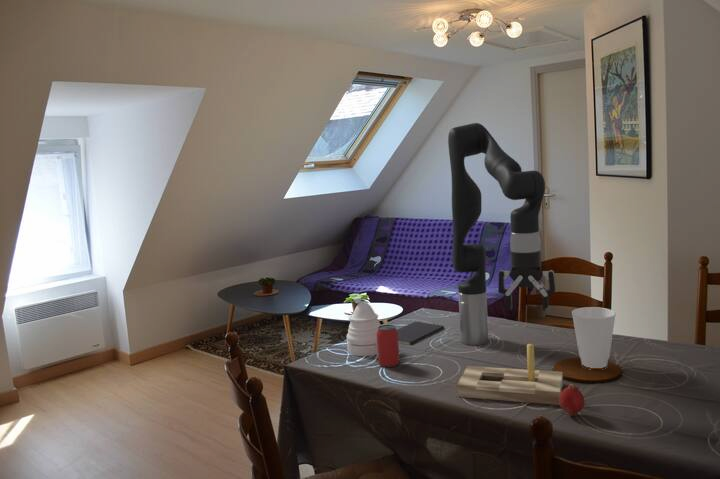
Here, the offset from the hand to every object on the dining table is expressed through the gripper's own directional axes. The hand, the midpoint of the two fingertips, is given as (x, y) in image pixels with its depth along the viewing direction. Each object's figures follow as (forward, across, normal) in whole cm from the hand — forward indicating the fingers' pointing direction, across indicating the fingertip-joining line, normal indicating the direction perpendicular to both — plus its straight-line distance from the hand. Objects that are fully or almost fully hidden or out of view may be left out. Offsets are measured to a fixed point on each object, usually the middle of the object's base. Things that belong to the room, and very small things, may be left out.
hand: (527, 309), depth 161 cm
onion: (+22, -11, +14) cm, 29 cm away
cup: (+23, -16, -21) cm, 35 cm away
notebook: (+24, +44, -43) cm, 67 cm away
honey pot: (+23, +56, -25) cm, 65 cm away
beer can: (+23, +44, -13) cm, 51 cm away
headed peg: (+22, -1, +1) cm, 22 cm away
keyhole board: (+22, +5, +1) cm, 23 cm away
